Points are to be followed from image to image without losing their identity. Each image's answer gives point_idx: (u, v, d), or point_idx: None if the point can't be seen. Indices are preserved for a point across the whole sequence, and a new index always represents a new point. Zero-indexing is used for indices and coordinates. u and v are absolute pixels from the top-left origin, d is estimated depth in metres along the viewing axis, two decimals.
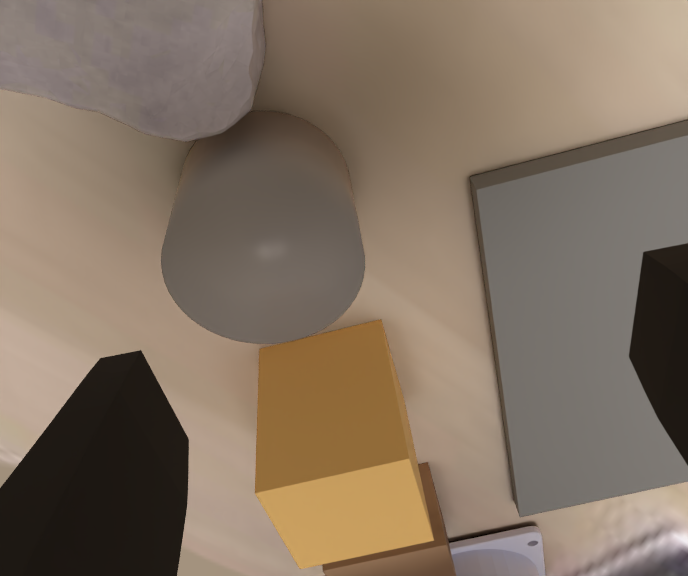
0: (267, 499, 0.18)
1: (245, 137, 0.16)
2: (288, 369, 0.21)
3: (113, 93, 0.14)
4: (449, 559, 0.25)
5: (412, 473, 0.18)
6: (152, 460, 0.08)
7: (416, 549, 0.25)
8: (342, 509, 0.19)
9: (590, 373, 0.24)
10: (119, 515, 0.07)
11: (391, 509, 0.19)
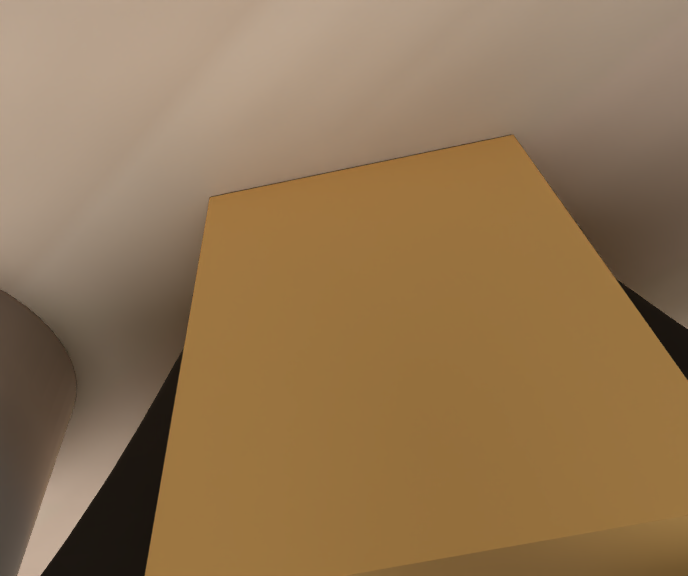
0: None
1: None
2: None
3: None
4: None
5: None
6: None
7: None
8: None
9: None
10: None
11: None
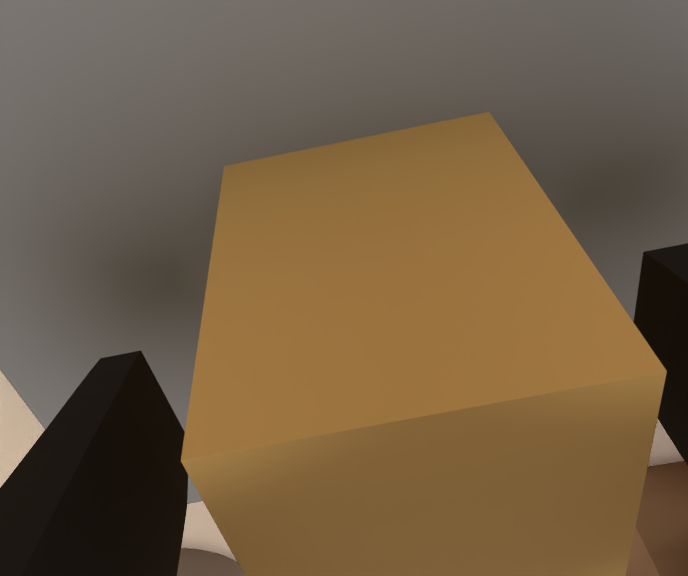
0: None
1: None
2: None
3: None
4: None
5: (256, 449, 0.06)
6: (152, 460, 0.08)
7: None
8: (395, 556, 0.07)
9: None
10: (119, 515, 0.07)
11: (428, 477, 0.06)
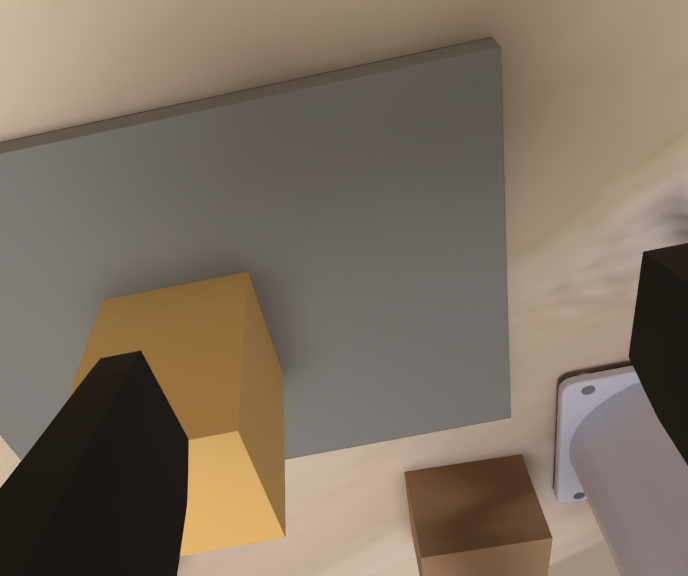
0: None
1: None
2: None
3: None
4: (451, 553, 0.24)
5: None
6: (152, 460, 0.08)
7: (422, 572, 0.24)
8: None
9: None
10: (119, 515, 0.07)
11: None
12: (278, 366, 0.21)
